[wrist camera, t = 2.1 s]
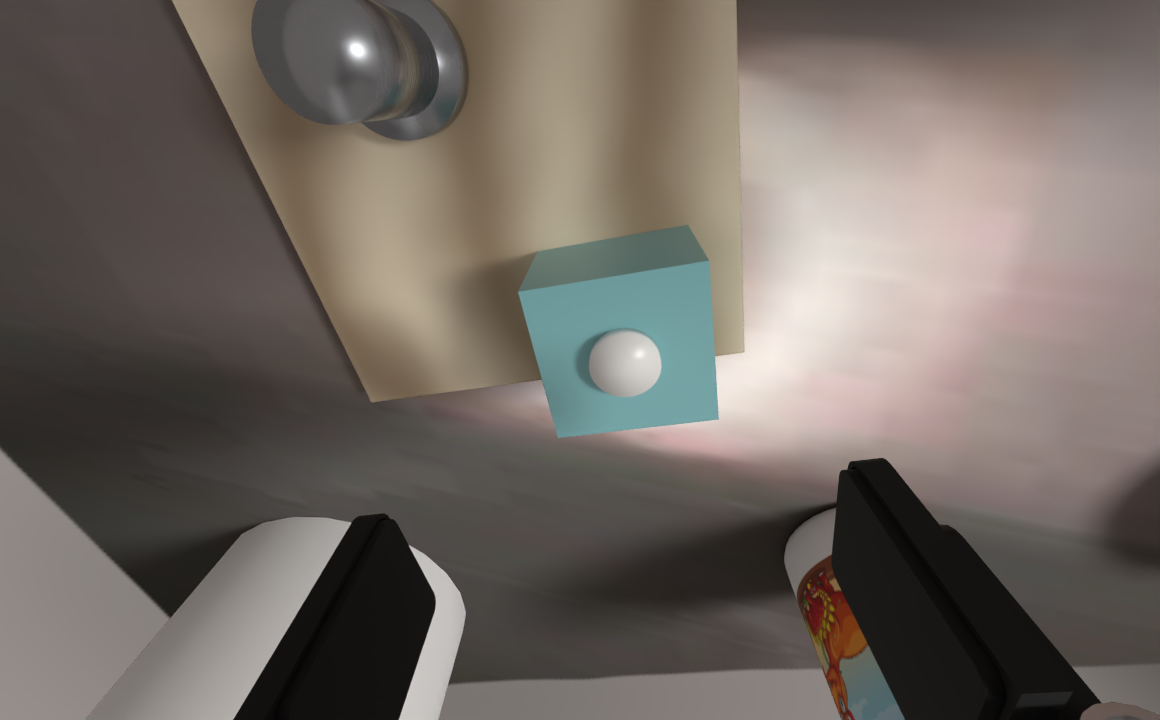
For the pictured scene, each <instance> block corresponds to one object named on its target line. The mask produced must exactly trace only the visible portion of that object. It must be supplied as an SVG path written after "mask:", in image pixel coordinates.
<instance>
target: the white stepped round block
mask: <svg viewBox="0 0 1160 720" xmlns="http://www.w3.org/2000/svg"><path fill="white" fill-rule="evenodd" d="M350 525H351V522H346V521H340V520H335V519H330V518H319V517H290V518H285V519H280V520H275V521H270V522H265V523H262V524H260V525H258V526H256V527H254V528H252V529H250V530H248V531H247V532H245V533H243V534H241V535H240V537H239V538H238V539H237V540H236V541H235V543H234V544H233V545H232V546H231V547H230V548H229V550H228V551H227V552H226V553H225V554H224V556H223V557H222V558H221V559H220V560H219V561H218V563H217V564H216V565H215V566H214V567H213V569H212V570H211V571H210V572H209V573H208V574H207V576H206V577H205V578H204V579H203V580H202V582H201V583H200V584H199V585H198V586H197V587H196V589H195V590H194V591H193V592H192V593H191V595H190V596H189V597H188V598H187V599H186V600H185V602H184V603H183V604H182V605H181V606H180V608H179V609H178V610H177V611H176V612H175V613H174V615H173V616H172V617H171V618H170V619H169V621H168V622H167V623H166V624H165V625H164V626H163V628H162V629H161V630H160V631H159V633H158V634H157V635H156V636H155V637H154V638H153V640H152V641H151V642H150V643H149V644H148V646H147V647H146V648H145V649H144V650H143V651H142V652H141V654H140V655H139V656H138V657H137V658H136V660H135V661H134V662H133V663H132V664H131V665H130V667H129V668H128V669H127V670H126V671H125V673H124V674H123V675H122V676H121V677H120V678H119V680H118V681H117V682H116V683H115V684H114V686H113V687H112V688H111V689H110V690H109V692H108V693H107V694H106V695H105V696H104V697H103V699H102V700H101V701H100V702H99V703H98V705H97V706H96V707H95V708H94V709H93V710H92V712H91V713H90V714H89V715H88V716H87V717H86V719H85V720H233V719H234V717H235V716H236V714H237V712H238V711H239V709H240V707H241V706H242V704H243V702H244V701H245V699H246V697H247V696H248V694H249V692H250V691H251V689H252V687H253V686H254V684H255V682H256V681H257V679H258V677H259V676H260V674H261V672H262V671H263V669H264V667H265V666H266V664H267V663H268V661H269V659H270V658H271V656H272V654H273V653H274V651H275V649H276V648H277V646H278V644H279V643H280V641H281V639H282V638H283V636H284V634H285V633H286V631H287V629H288V628H289V626H290V624H291V623H292V621H293V619H294V618H295V616H296V614H297V613H298V611H299V609H300V608H301V606H302V604H303V603H304V601H305V599H306V598H307V596H308V594H309V593H310V591H311V589H312V588H313V586H314V584H315V583H316V581H317V579H318V578H319V576H320V574H321V573H322V571H323V569H324V568H325V566H326V564H327V563H328V561H329V559H330V558H331V556H332V554H333V553H334V551H335V549H336V548H337V546H338V544H339V543H340V541H341V540H342V538H343V536H344V535H345V533H346V531H347V530H348V528H349V526H350ZM409 547H410V549H411V551H412V552H413V554H414V556H415V558H416V560H417V562H418V564H419V566H420V567H421V569H422V571H423V573H424V575H425V577H426V579H427V581H428V582H429V584H430V586H431V588H432V590H433V592H434V594H435V598H436V607H435V612H434V615H433V618H432V621H431V624H430V627H429V630H428V633H427V636H426V639H425V642H424V645H423V648H422V651H421V654H420V657H419V661H418V664H417V667H416V670H415V673H414V676H413V679H412V682H411V685H410V688H409V691H408V694H407V697H406V700H405V703H404V706H403V709H402V712H401V715H400V718H399V720H438V718H439V714H440V711H441V708H442V704H443V700H444V696H445V693H446V690H447V686H448V682H449V679H450V675H451V672H452V668H453V664H454V661H455V657H456V654H457V650H458V646H459V643H460V639H461V636H462V632H463V627H464V621H465V615H466V612H465V608H464V604H463V601H462V597H461V594H460V592H459V591H458V589H457V588H456V586H455V585H454V583H453V582H452V581H451V579H450V578H449V576H448V575H447V573H445V572H444V571H443V570H442V569H441V568H440V567H439V566H437V565H436V564H435V563H434V562H433V561H432V560H431V559H429V558H428V557H427V556H426V555H425V554H423V553H422V552H420V551H418V550H416V549H415V548H413V547H411V546H410V545H409Z"/></svg>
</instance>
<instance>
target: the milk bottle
mask: <svg viewBox="0 0 1160 720" xmlns="http://www.w3.org/2000/svg"><path fill="white" fill-rule="evenodd" d="M835 515H836V508H833V509H830V510H826V511H824V512H822V513H820V514H817V515H815V516H813V517H812V518H810V519H808V520H807V521H805V522H804V523H803V524H801V525H800V526H799V527H798V528H797V529H796V530H795V531H794V532H793V534H792V535H791V536H790V538H789V540H788V542H787V544H786V550H785V555H784V563H785V567H786V570H787V573H788V576H789V579H790V583H791V585H792V588H793V591H794V593H795V596H796V599H797V602H798V604H799V607H800V610H801V613H802V615H803V618H804V621H805V623H806V626H807V629H808V632H809V634H810V637H811V640H812V642H813V645H814V648H815V651H816V653H817V656H818V659H819V661H820V664H821V667H822V669H823V672H824V675H825V677H826V680H827V683H828V685H829V688H830V691H831V693H832V696H833V699H834V701H835V704H836V707H837V709H838V712H839V715H840V717H841V720H905V719H904V717H903V715H902V713H901V711H900V709H899V707H898V704H897V702H896V700H895V698H894V696H893V694H892V692H891V690H890V688H889V686H888V684H887V682H886V680H885V678H884V676H883V674H882V672H881V670H880V668H879V666H878V664H877V662H876V660H875V658H874V656H873V654H872V652H871V650H870V648H869V646H868V644H867V642H866V640H865V637H864V635H863V633H862V631H861V629H860V627H859V625H858V623H857V621H856V619H855V617H854V615H853V613H852V611H851V609H850V607H849V605H848V603H847V601H846V599H845V597H844V595H843V593H842V591H841V589H840V587H839V585H838V583H837V581H836V578H835V576H834V573H833V569H832V564H831V556H832V545H833V535H834V525H835Z"/></svg>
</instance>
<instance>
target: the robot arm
mask: <svg viewBox="0 0 1160 720" xmlns="http://www.w3.org/2000/svg"><path fill="white" fill-rule="evenodd" d="M831 564H832V569H833V573H834V576H835V578H836V581H837V583H838V585H839V587H840V589H841V591H842V593H843V595H844V597H845V599H846V601H847V603H848V605H849V607H850V609H851V611H852V613H853V615H854V617H855V619H856V621H857V623H858V625H859V627H860V629H861V631H862V633H863V635H864V637H865V640H866V642H867V644H868V646H869V648H870V650H871V652H872V654H873V656H874V658H875V660H876V662H877V664H878V666H879V668H880V670H881V672H882V674H883V676H884V678H885V680H886V682H887V684H888V686H889V688H890V690H891V692H892V694H893V696H894V698H895V700H896V702H897V704H898V707H899V709H900V711H901V713H902V715H903V717H904V719H905V720H1160V714H1157V713H1155V712H1152V711H1149V710H1146V709H1144V708H1141V707H1138V706H1135V705H1129V704H1123V703H1116V702H1107V703H1101V702H1100V701H1099V699H1098V698H1097V697H1096V696H1095V695H1094V693H1093V692H1092V691H1091V690H1090V689H1089V687H1088V686H1087V685H1086V684H1085V683H1084V681H1083V680H1082V679H1081V678H1080V677H1079V675H1078V674H1077V673H1076V672H1075V671H1074V669H1073V668H1072V667H1071V666H1070V665H1069V663H1068V662H1067V661H1066V660H1065V659H1064V657H1063V656H1062V655H1061V654H1060V653H1059V651H1058V650H1057V649H1056V648H1055V647H1054V645H1053V644H1052V643H1051V642H1050V641H1049V639H1048V638H1047V637H1046V636H1045V635H1044V633H1043V632H1042V631H1041V630H1040V629H1039V627H1038V626H1037V625H1036V624H1035V623H1034V621H1033V620H1032V619H1031V618H1030V617H1029V615H1028V614H1027V613H1026V612H1025V611H1024V610H1023V608H1022V607H1021V606H1020V605H1019V604H1018V602H1017V601H1016V600H1015V599H1014V598H1013V596H1012V595H1011V594H1010V593H1009V592H1008V590H1007V589H1006V588H1005V587H1004V586H1003V584H1002V583H1001V582H1000V581H999V580H998V578H997V577H996V576H995V575H994V574H993V572H992V571H991V570H990V569H989V568H988V566H987V565H986V564H985V563H984V562H983V560H982V559H981V558H980V557H979V556H978V554H977V553H976V552H975V551H974V550H973V548H972V547H971V546H970V545H969V544H968V542H967V541H966V540H965V539H964V538H963V537H962V536H961V535H960V534H959V533H958V532H957V531H956V530H955V529H953V528H952V527H950V526H948V525H939V524H938V523H937V521H936V520H935V519H934V518H933V516H932V515H931V514H930V513H929V511H928V510H927V509H926V508H925V506H924V505H923V504H922V503H921V501H920V500H919V499H918V498H917V496H916V495H915V494H914V493H913V491H912V490H911V489H910V488H909V486H908V485H907V484H906V483H905V481H904V480H903V479H902V478H901V476H900V475H899V474H898V473H897V471H896V470H895V469H894V468H893V467H892V465H891V464H890V463H889V462H888V461H887V460H886V459H884V458H878V459H869V460H860V461H852V462H850V463H849V465H848V470H841V472H840V475H839V484H838V494H837V505H836V515H835V525H834V535H833V545H832V556H831ZM435 607H436V598H435V594H434V592H433V590H432V588H431V586H430V584H429V582H428V581H427V579H426V577H425V575H424V573H423V571H422V569H421V567H420V566H419V564H418V562H417V560H416V558H415V556H414V554H413V552H412V551H411V549H410V547H409V545H408V543H407V541H406V539H405V538H404V536H403V534H402V532H401V530H400V528H399V526H398V524H397V523H396V521H395V520H393V519H390V518H389V517H388V515H386V514H374V515H365V516H358V517H357V518H355V519H354V520H353V522H352V523H351V525H350V526H349V528H348V530H347V531H346V533H345V535H344V536H343V538H342V540H341V541H340V543H339V544H338V546H337V548H336V549H335V551H334V553H333V554H332V556H331V558H330V559H329V561H328V563H327V564H326V566H325V568H324V569H323V571H322V573H321V574H320V576H319V578H318V579H317V581H316V583H315V584H314V586H313V588H312V589H311V591H310V593H309V594H308V596H307V598H306V599H305V601H304V603H303V604H302V606H301V608H300V609H299V611H298V613H297V614H296V616H295V618H294V619H293V621H292V623H291V624H290V626H289V628H288V629H287V631H286V633H285V634H284V636H283V638H282V639H281V641H280V643H279V644H278V646H277V648H276V649H275V651H274V653H273V654H272V656H271V658H270V659H269V661H268V663H267V664H266V666H265V667H264V669H263V671H262V672H261V674H260V676H259V677H258V679H257V681H256V682H255V684H254V686H253V687H252V689H251V691H250V692H249V694H248V696H247V697H246V699H245V701H244V702H243V704H242V706H241V707H240V709H239V711H238V712H237V714H236V716H235V717H234V719H233V720H399V718H400V715H401V712H402V709H403V706H404V703H405V700H406V697H407V694H408V691H409V688H410V685H411V682H412V679H413V676H414V673H415V670H416V667H417V664H418V661H419V657H420V654H421V651H422V648H423V645H424V642H425V639H426V636H427V633H428V630H429V627H430V624H431V621H432V618H433V615H434V612H435Z"/></svg>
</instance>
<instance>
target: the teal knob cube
mask: <svg viewBox="0 0 1160 720" xmlns="http://www.w3.org/2000/svg"><path fill="white" fill-rule="evenodd" d="M518 294H519V297H520V301H521V305H522V308H523V312H524V316H525V319H526V323H527V327H528V330H529V334H530V338H531V341H532V345H533V349H534V352H535V356H536V360H537V363H538V367H539V371H540V374H541V378H542V382H543V385H544V389H545V393H546V396H547V400H548V404H549V407H550V411H551V415H552V418H553V422H554V426H555V429H556V433H557V437H558V438H561V437H570V436H578V435H587V434H596V433H604V432H613V431H622V430H631V429H639V428H648V427H657V426H665V425H674V424H683V423H691V422H700V421H709V420H718V419H719V418H718V400H717V383H716V366H715V349H714V332H713V315H712V298H711V281H710V264H709V259H708V258H707V256H706V254H705V253H704V251H703V249H702V248H701V246H700V244H699V242H698V241H697V239H696V237H695V236H694V234H693V232H692V231H691V229H690V227H689V226H688V225H684V226H678V227H672V228H667V229H661V230H655V231H650V232H644V233H638V234H633V235H627V236H621V237H616V238H610V239H604V240H599V241H593V242H587V243H582V244H576V245H570V246H564V247H559V248H553V249H547V250H542V251H537V254H536V256H535V258H534V260H533V262H532V264H531V266H530V268H529V270H528V272H527V274H526V276H525V279H524V281H523V283H522V285H521V287H520V289H519V291H518Z"/></svg>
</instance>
